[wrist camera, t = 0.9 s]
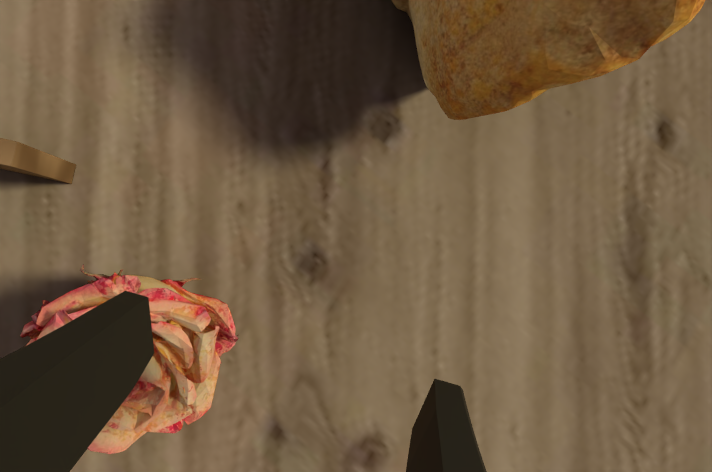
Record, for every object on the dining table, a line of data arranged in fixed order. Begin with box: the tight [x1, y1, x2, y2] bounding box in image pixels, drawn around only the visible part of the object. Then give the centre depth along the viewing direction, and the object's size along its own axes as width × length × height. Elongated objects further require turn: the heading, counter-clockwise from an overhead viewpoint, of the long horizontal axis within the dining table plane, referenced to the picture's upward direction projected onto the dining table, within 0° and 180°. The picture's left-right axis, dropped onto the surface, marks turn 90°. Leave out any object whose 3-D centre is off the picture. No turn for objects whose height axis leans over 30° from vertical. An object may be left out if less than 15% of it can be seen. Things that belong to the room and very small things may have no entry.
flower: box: [20, 264, 238, 454], centre depth 20 cm, size 9×9×7 cm
